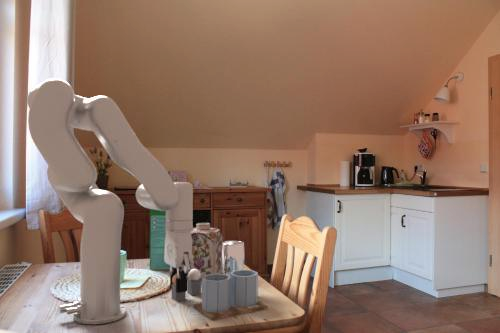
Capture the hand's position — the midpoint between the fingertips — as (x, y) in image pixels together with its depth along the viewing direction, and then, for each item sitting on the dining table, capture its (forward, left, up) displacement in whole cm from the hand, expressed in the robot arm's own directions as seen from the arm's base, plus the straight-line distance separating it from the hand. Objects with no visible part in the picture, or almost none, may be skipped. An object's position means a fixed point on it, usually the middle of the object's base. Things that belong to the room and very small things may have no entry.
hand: (178, 289), depth 120 cm
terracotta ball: (0, 0, +1) cm, 1 cm away
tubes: (+9, -14, -3) cm, 17 cm away
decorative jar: (+17, +20, -3) cm, 26 cm away
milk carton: (+10, +38, -3) cm, 39 cm away
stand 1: (0, 0, -3) cm, 3 cm away
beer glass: (+16, -2, -3) cm, 17 cm away
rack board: (+9, -14, -3) cm, 17 cm away
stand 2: (+6, +2, -3) cm, 7 cm away
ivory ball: (+6, +2, +1) cm, 7 cm away
